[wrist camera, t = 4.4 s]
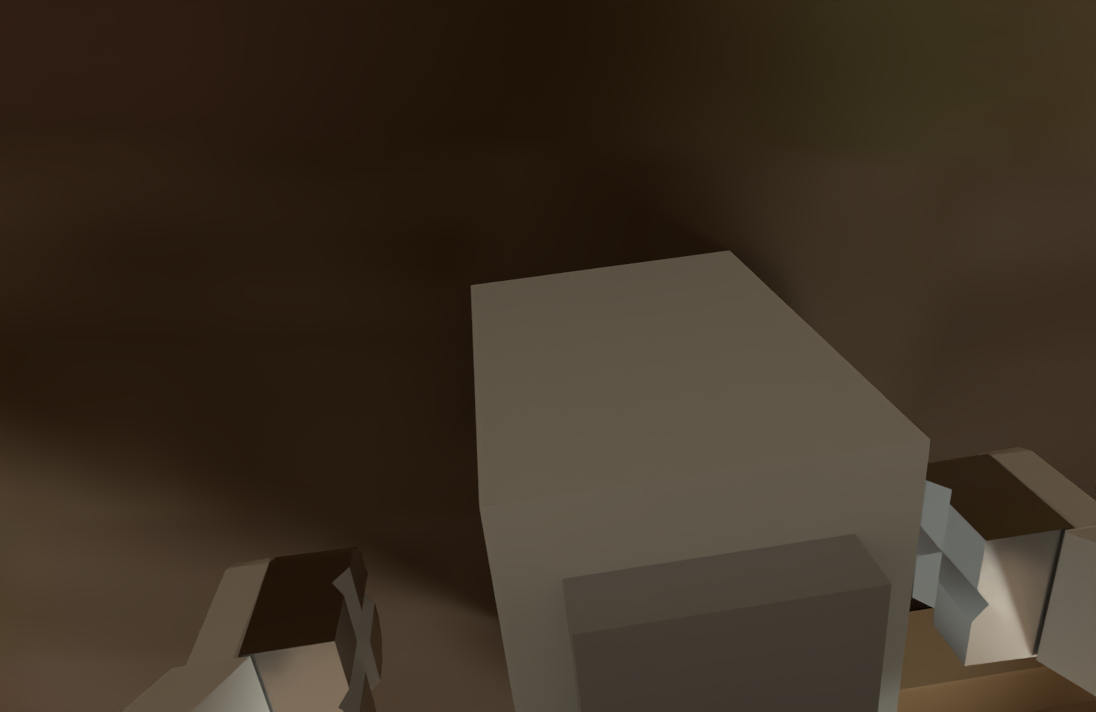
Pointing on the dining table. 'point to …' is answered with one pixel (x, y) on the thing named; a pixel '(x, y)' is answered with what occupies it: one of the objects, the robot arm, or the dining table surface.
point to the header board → (978, 679)
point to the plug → (688, 496)
